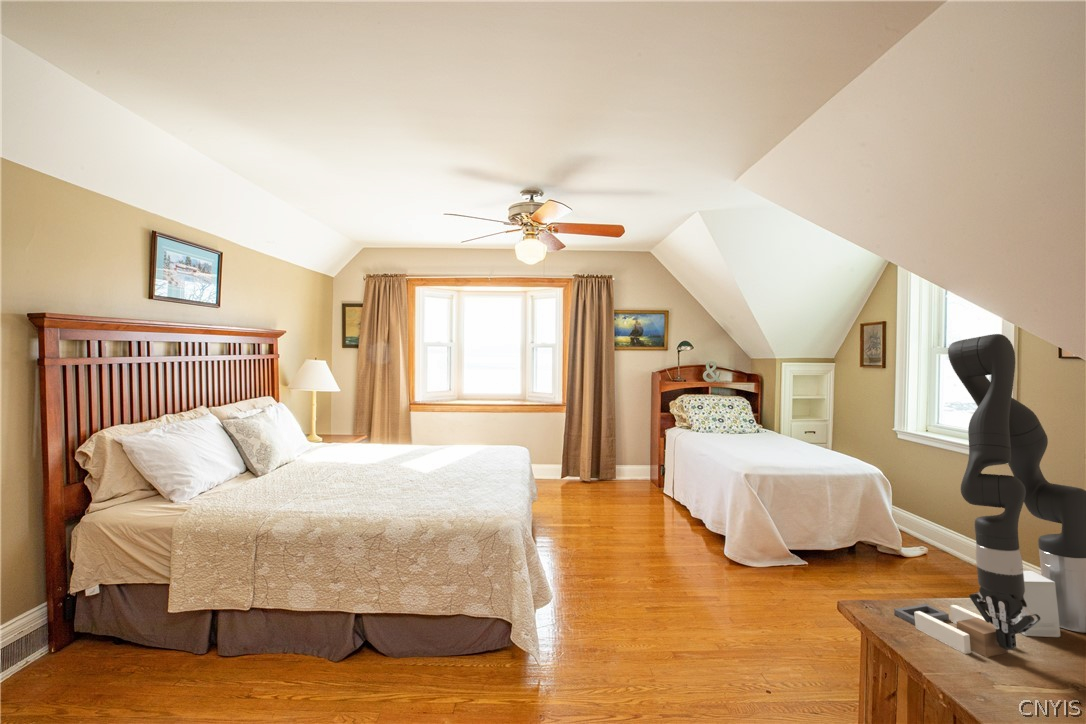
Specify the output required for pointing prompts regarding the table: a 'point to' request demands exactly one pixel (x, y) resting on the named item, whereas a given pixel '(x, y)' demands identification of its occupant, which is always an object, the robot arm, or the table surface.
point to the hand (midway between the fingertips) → (1006, 647)
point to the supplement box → (1041, 605)
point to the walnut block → (981, 636)
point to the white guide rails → (947, 628)
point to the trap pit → (909, 616)
